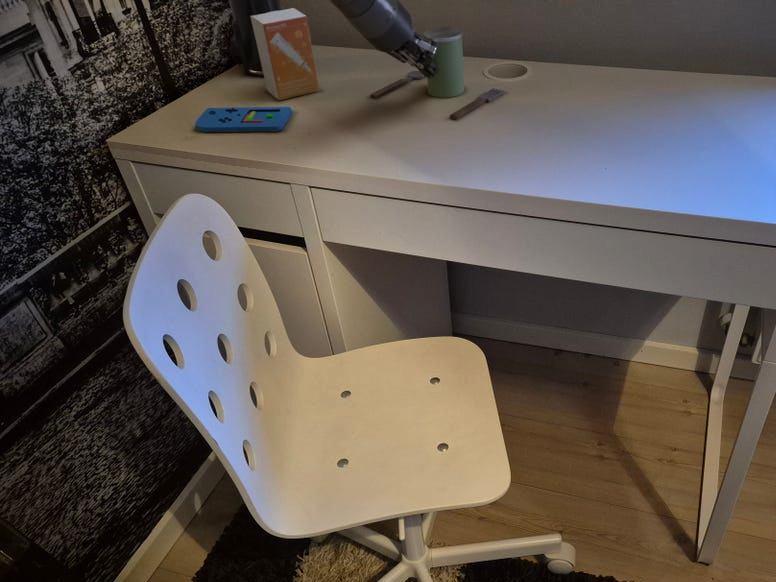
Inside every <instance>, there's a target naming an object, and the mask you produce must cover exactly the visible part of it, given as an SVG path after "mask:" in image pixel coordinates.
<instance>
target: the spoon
mask: <svg viewBox="0 0 776 582" xmlns="http://www.w3.org/2000/svg"><path fill="white" fill-rule="evenodd" d="M424 78H425V76H424V75H423V74H422V73H421V72H420V71H419V70H412V71H409V72H408V73H407V77H406V78H401V79H398V80H396V81H394V82H392V83H391V84H388V85H386V86H384V87H382V88H380V89H378V90H376V91H374V92H372V93H370V94H369V97H370V98H371V99H375V100H378V99H379V98H381V97H383V96H385V95H387V94H389V93H391V92H393V91H395V90H397V89H399V88H401V87H403V86H405V85H407V84H408V83H409V82H410V81H412V80H413V81H417V80H418V81H419V80H422V79H424Z"/></svg>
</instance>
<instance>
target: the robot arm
mask: <svg viewBox="0 0 776 582" xmlns="http://www.w3.org/2000/svg"><path fill="white" fill-rule="evenodd" d="M328 1H329V2H330V3H331V4H332V5H333V6H334V7H335V8H336V9H337V10H338V11H339V12H340V13H341V14H342V16H344V17H345V19H346V20H347V22H348V23H349V24H350V25H351V27H353V28H354V29H355V30H356V31H357V32H358V33H359V34H360V35H361V36H362V37H363V38H364V39H365V40H366V41H367V42H368V43H369V44H370V45H371V46H372V47H373V48H374V49H376V51H378V52H381V53H386V54H387V55H388V56H390V57H392V58H394V59H396V60H397V61H398V62H401V63H402V64H407V63H408V64H409V65H410V66H411V67H413V68H416V69H417V71H420V72H421V73H422V74H423V75H424V78H427V77H429V78H433V77H434V75H435V72H436V70H437V67H436V65H435V64H434V63H433V59H434V57H435V54H436V51H437V48H438V43H436V42H435V41H431V43H430V42H428V44H427V43H425V42H424V40H423V38H422V36H421V35H420V34H419V33H418V32H416V30H415V29H414V28H413V22H412V16H411V15H410V12H409V11H408V10H407V9H406V8H405V6H404V5H403V4H402V3H401V2H400V0H328ZM228 2H229V3H228V4H229V6H230V10H231V14H232V18H233V19H232V21H231V27H232V30H233V35H232V37H231V39H230V41H229V42H230V43H229V44H230V49H229V53H230V54H229V55H230V56H231V58H232V60H234V62H235V63H236V64H237V66H238V67H240V66H242V70H243V74H244V75H245V76H256V77H264V73H263V69H262V65H261V61H260V56H259V51H258V47H257V43H256V38H255V34H254V30H253V25H252V21H251V17H250V16H254V15H259V14H264V13H268V12H273V11H280V10H283V6H282V1H281V0H228ZM239 57H240V58H239Z"/></svg>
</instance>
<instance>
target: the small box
mask: <svg viewBox="0 0 776 582" xmlns="http://www.w3.org/2000/svg"><path fill="white" fill-rule="evenodd" d="M250 17H251V21H252V25H253V30H254V34H255V38H256V43H257V47H258V51H259V56H260V61H261V65H262V69H263V73H264V76H263V77H264V81H265V86H266V90H267V92H268V93H270V95H272V96H273V97H274V98H275V99H277V100H278V101H283V100H286V99H287V100H288V99H291V98H294V97H298V96H299V97H300V96H304V95H308V94H313V93H318V92H320V85H319V80H318V74H317V68H316V67H317V66H316V62H315V57H314V51H313V46H312V40H311V34H310V28H309V22H308V17H307V15H305V14H304V13H303V12H301V11H299V10H298V9H296V8H295V7H291V8H288V9H282V10H280V11H273V12H268V13H264V14H259V15H254V16H250Z"/></svg>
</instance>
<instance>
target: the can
mask: <svg viewBox="0 0 776 582" xmlns="http://www.w3.org/2000/svg"><path fill="white" fill-rule="evenodd" d="M431 41H435V42H436V43H438V48H437V51H436V54H435V57H434V59H433V63H434V64H435V65H436V67H437V70H436V72H435V75H434V77H433V78H429V77H426V79H427V80H426V82H427V83H426V84H427V93H428V94H429V95H430V96H431V97H434V98H435V97H436V98H440V99H441V98H443V99H444V98H446V99H447V98H454V97H455V98H456V97H458V96H460V95H462V94H463V93H464V92H465V78H464V77H465V76H464V52H463V51H464V50H463V31H462V29H460V28H458V27H453V26H437V27H431V28H428V29H426V30H424V32H423V42H425V43H427V44H428V42H430V43H431Z"/></svg>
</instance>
